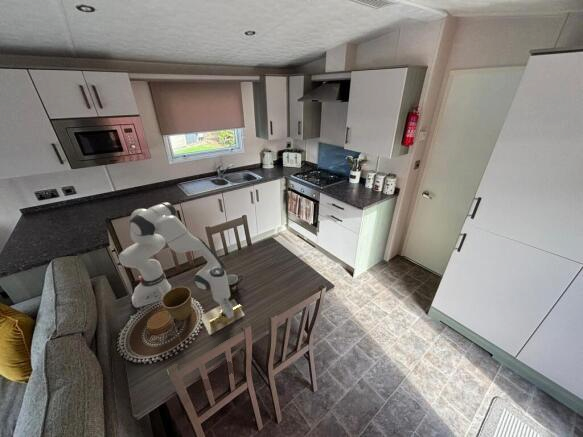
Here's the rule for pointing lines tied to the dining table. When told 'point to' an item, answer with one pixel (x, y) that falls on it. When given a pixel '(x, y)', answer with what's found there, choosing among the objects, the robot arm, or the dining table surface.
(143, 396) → the dining table surface
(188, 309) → the plant pot
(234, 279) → the coffee mug
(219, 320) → the hinge
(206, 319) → the board
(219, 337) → the dining table surface
